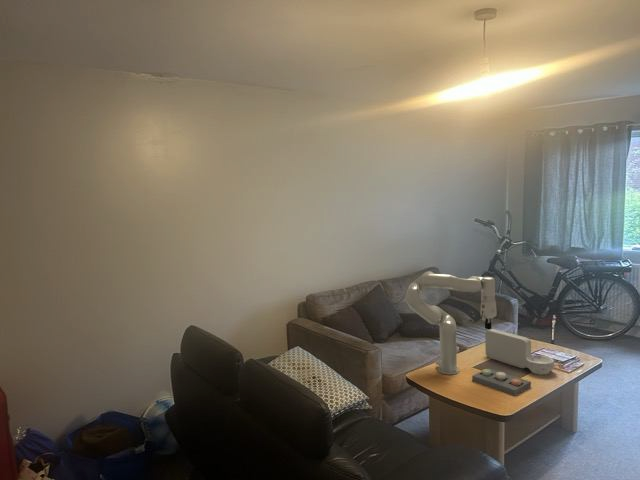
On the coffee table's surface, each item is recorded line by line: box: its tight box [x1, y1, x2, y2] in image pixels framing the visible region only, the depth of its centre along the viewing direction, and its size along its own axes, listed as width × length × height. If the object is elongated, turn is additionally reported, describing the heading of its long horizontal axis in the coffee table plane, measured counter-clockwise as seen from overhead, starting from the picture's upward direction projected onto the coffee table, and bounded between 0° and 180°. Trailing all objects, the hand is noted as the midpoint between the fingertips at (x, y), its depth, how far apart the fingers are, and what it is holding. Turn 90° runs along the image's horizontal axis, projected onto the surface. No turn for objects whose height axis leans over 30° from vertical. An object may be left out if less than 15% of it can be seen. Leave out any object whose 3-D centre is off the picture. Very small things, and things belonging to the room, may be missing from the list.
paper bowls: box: [526, 354, 555, 376], centre depth 270 cm, size 15×15×8 cm
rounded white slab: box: [484, 328, 532, 369], centre depth 287 cm, size 29×8×18 cm, turn 33°
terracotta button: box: [511, 379, 521, 387], centre depth 249 cm, size 5×5×2 cm
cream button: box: [496, 371, 507, 380], centre depth 256 cm, size 5×5×2 cm
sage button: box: [481, 368, 491, 377], centre depth 263 cm, size 5×5×2 cm
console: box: [471, 368, 532, 396], centre depth 256 cm, size 26×16×3 cm, turn 37°
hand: (488, 328), depth 268 cm, fingers closed
